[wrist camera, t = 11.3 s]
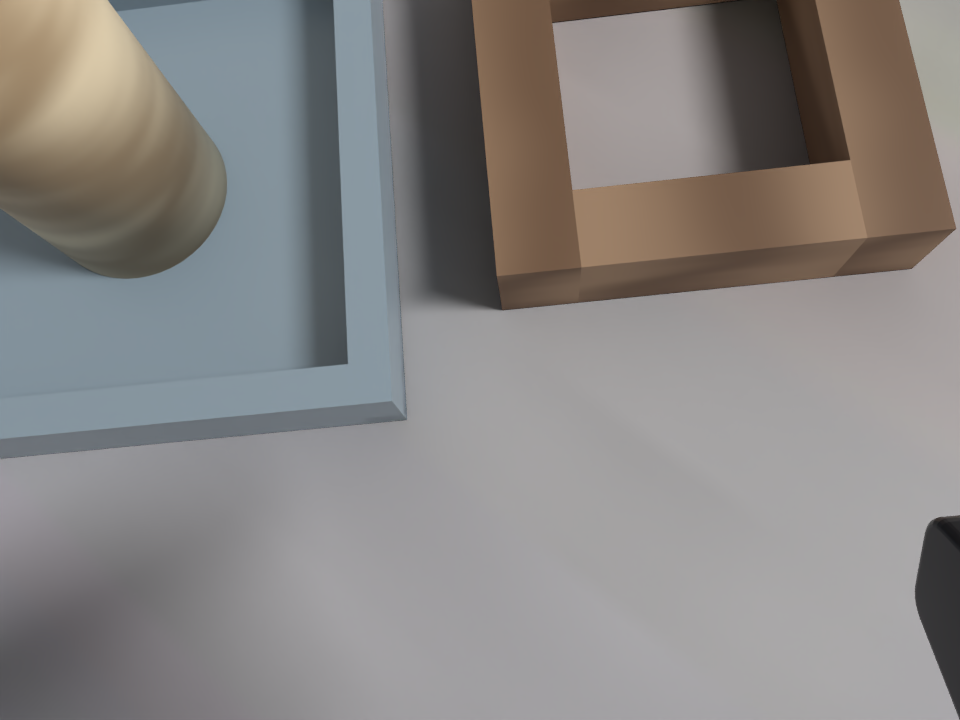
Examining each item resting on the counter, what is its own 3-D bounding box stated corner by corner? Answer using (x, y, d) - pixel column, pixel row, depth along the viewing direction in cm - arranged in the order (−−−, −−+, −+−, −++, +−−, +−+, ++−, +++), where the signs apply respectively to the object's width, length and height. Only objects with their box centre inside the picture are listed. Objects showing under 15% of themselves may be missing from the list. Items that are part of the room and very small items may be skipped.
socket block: (502, 310, 23) (496, 276, 20) (471, -27, 26) (463, -91, 23) (911, 268, 22) (956, 228, 20) (833, -71, 25) (863, -142, 23)
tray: (-115, 469, 23) (-182, 456, 21) (-66, 20, 27) (-119, -30, 25) (407, 419, 22) (392, 401, 20) (380, -35, 26) (365, -92, 24)
